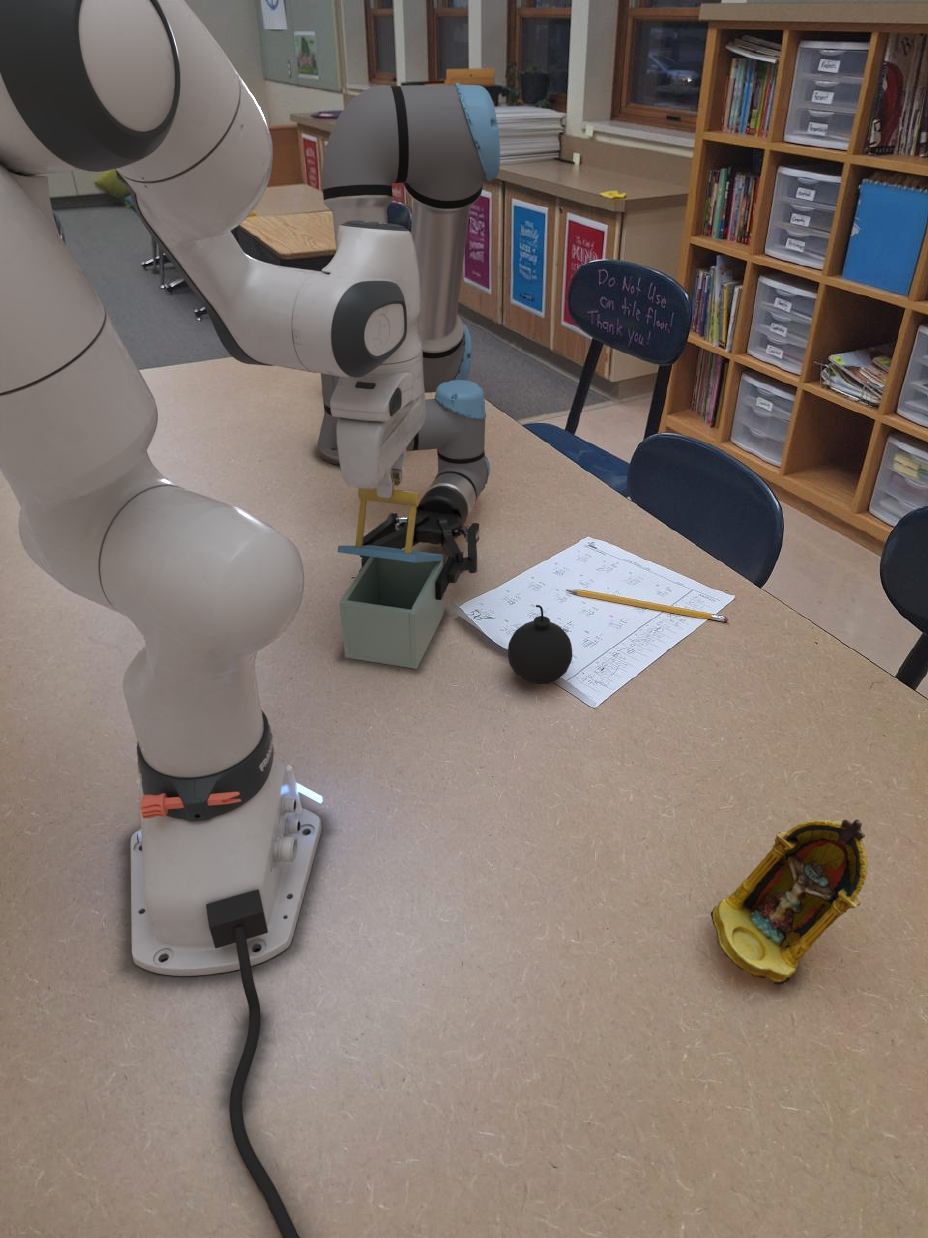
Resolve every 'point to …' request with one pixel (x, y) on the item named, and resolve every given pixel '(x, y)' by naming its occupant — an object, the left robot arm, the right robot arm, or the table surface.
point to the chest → (391, 612)
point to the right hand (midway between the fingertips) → (399, 585)
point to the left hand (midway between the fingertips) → (390, 488)
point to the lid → (386, 552)
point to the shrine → (792, 897)
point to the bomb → (540, 651)
